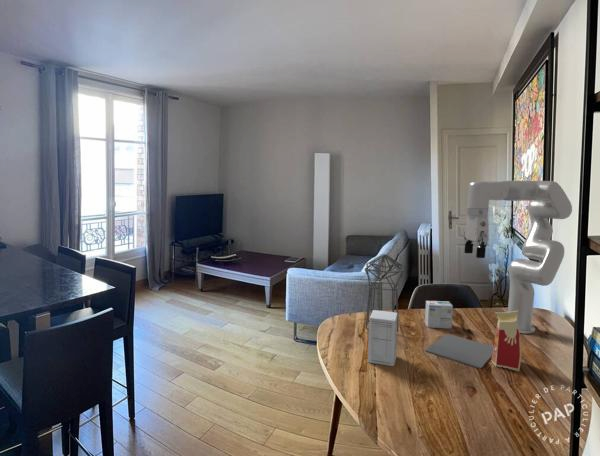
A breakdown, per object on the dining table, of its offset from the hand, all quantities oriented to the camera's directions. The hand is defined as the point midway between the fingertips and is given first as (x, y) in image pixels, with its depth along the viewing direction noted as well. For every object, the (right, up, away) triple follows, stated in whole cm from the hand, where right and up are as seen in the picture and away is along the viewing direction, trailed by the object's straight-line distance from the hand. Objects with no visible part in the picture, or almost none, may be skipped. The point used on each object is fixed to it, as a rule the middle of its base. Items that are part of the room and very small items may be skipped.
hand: (474, 255), depth 150 cm
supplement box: (-40, -37, -14) cm, 56 cm away
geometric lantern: (-36, -35, +8) cm, 50 cm away
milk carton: (+4, -38, -15) cm, 41 cm away
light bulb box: (-7, -34, +20) cm, 40 cm away
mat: (-7, -37, -5) cm, 38 cm away
